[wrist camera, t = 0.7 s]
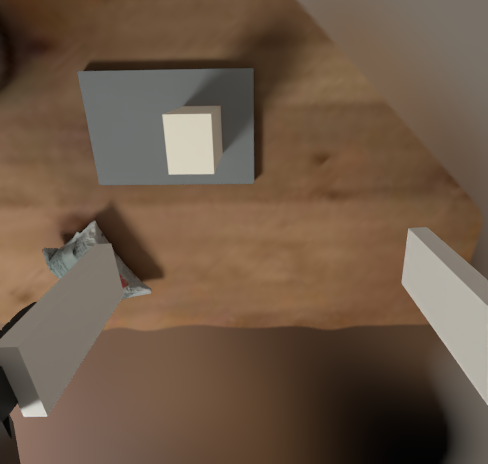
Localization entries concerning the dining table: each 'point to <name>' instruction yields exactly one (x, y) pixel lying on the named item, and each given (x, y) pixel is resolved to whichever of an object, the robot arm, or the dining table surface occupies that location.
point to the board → (151, 122)
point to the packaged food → (76, 249)
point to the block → (193, 139)
